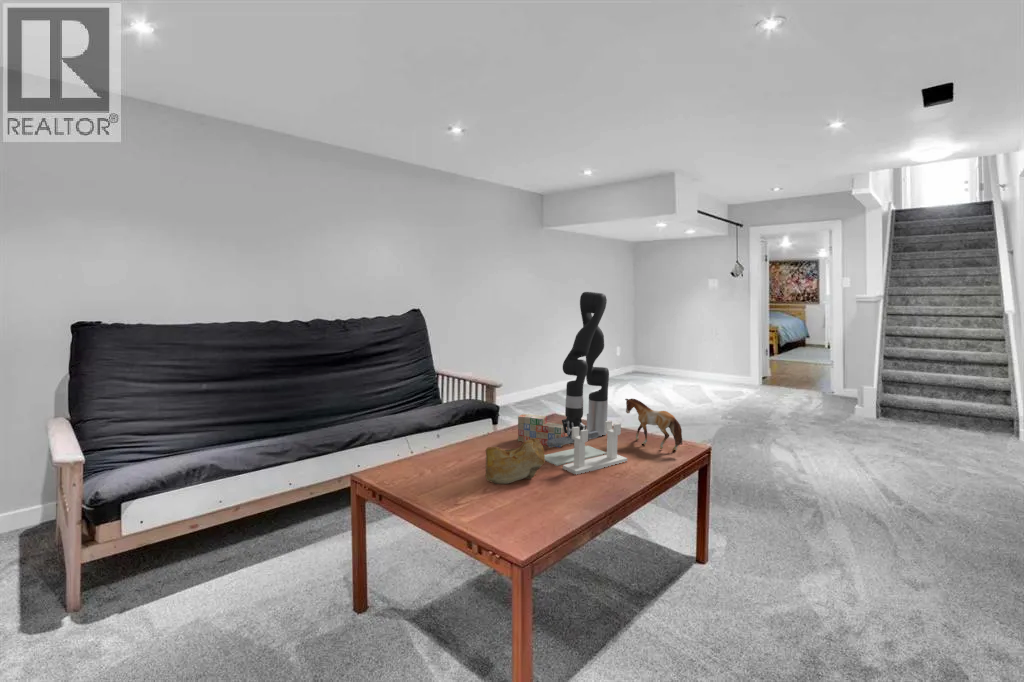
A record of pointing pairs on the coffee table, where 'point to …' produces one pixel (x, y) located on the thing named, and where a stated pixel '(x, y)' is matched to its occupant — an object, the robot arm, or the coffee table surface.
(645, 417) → the horse figurine
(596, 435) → the rail
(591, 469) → the rack
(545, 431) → the stack of blocks
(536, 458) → the rough brown rock
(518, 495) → the coffee table surface
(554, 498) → the coffee table surface
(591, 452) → the mat
